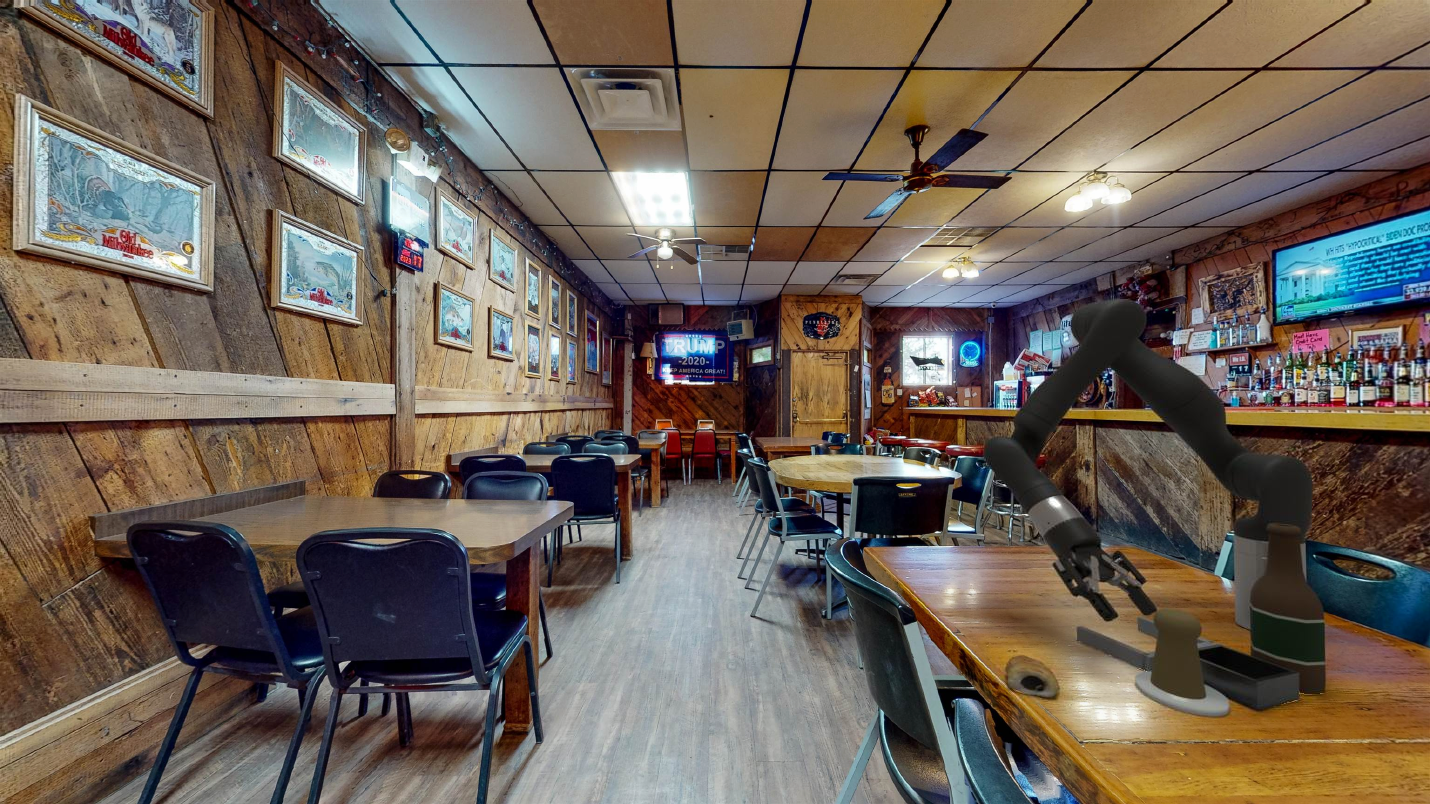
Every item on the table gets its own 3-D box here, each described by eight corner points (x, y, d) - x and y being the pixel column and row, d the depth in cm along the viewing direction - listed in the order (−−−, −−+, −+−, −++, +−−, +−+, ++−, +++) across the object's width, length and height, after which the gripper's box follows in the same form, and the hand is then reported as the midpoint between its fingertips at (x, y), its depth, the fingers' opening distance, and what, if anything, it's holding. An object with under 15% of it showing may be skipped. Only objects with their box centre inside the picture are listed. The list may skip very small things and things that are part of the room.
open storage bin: (1219, 669, 81) (1219, 644, 81) (1299, 700, 72) (1299, 672, 72) (1179, 677, 78) (1179, 651, 78) (1257, 711, 69) (1257, 682, 69)
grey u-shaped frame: (1142, 629, 95) (1142, 616, 95) (1219, 659, 84) (1219, 644, 84) (1076, 640, 91) (1076, 626, 91) (1149, 673, 79) (1149, 657, 79)
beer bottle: (1317, 702, 71) (1313, 533, 72) (1241, 676, 78) (1238, 522, 79) (1334, 688, 75) (1331, 527, 76) (1260, 665, 82) (1257, 517, 82)
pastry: (1002, 664, 83) (1002, 640, 83) (1051, 674, 80) (1051, 649, 80) (1007, 693, 74) (1008, 666, 74) (1062, 705, 71) (1062, 677, 71)
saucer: (1165, 673, 79) (1165, 667, 79) (1247, 709, 70) (1247, 702, 70) (1118, 683, 76) (1118, 676, 76) (1198, 722, 67) (1197, 714, 67)
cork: (1218, 701, 70) (1217, 622, 70) (1167, 696, 71) (1166, 618, 71) (1186, 679, 76) (1186, 605, 76) (1140, 674, 77) (1140, 602, 77)
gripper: (1045, 517, 86) (1117, 611, 75) (1106, 513, 90) (1183, 601, 79) (1019, 541, 91) (1082, 632, 80) (1078, 536, 95) (1146, 621, 84)
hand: (1132, 616), depth 79 cm, fingers open, 8 cm apart
